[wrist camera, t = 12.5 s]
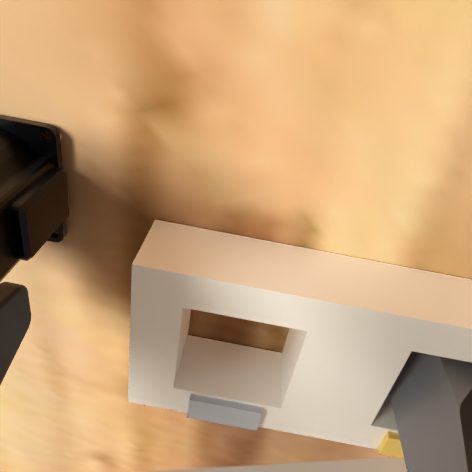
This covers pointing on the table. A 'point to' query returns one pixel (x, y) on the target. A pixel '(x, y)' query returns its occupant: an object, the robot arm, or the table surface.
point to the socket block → (298, 339)
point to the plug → (431, 412)
